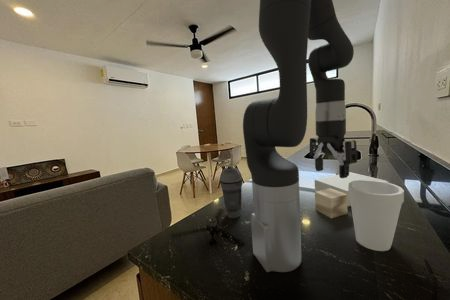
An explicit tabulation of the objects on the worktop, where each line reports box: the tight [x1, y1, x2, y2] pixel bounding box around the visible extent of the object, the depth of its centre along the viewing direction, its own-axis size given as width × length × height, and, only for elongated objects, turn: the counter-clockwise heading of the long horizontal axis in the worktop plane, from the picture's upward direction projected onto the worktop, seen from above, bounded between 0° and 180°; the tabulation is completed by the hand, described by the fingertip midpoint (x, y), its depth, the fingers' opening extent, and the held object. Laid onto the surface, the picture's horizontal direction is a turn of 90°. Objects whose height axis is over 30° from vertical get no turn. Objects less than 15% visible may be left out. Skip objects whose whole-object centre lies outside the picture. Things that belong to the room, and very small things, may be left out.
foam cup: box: [348, 180, 405, 252], centre depth 42 cm, size 10×9×13 cm
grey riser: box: [314, 171, 390, 208], centre depth 69 cm, size 18×14×5 cm
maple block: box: [314, 188, 348, 219], centre depth 58 cm, size 6×6×6 cm
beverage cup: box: [219, 153, 244, 219], centre depth 60 cm, size 7×7×20 cm
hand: (330, 173), depth 57 cm, fingers open, 8 cm apart
